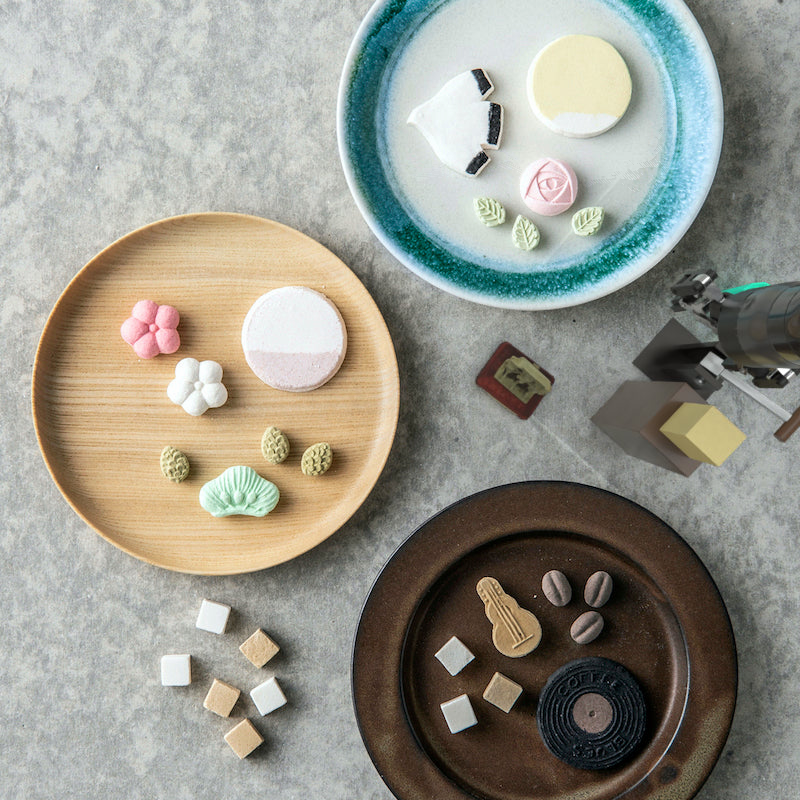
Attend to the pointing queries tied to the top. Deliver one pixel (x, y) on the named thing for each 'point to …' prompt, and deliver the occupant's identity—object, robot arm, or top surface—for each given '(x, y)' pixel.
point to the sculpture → (514, 380)
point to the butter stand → (648, 422)
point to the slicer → (680, 359)
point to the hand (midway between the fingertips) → (703, 331)
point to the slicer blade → (754, 397)
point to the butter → (703, 433)
